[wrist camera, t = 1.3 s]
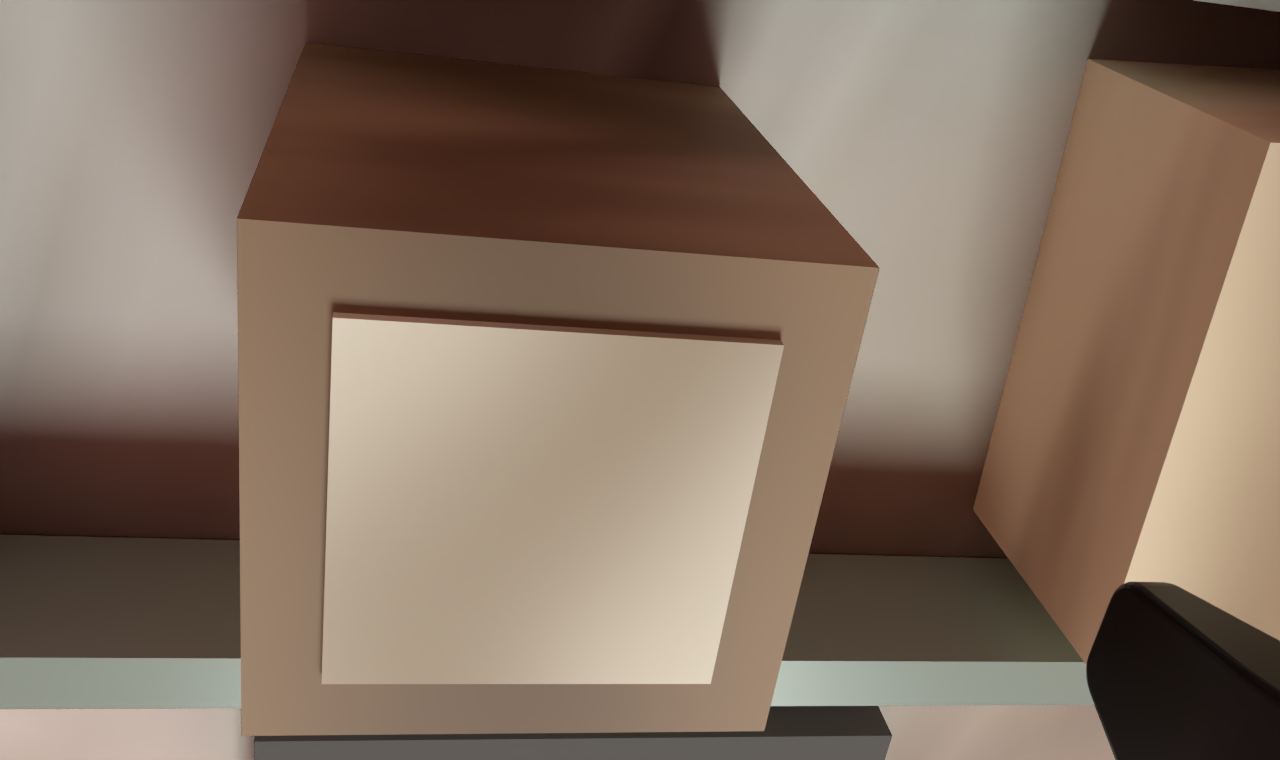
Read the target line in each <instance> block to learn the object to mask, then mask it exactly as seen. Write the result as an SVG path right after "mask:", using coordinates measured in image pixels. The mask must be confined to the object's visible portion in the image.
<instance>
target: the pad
mask: <svg viewBox="0 0 1280 760" xmlns="http://www.w3.org/2000/svg"><path fill="white" fill-rule="evenodd" d="M891 737H892V734H891V732H890V730H889V728H888V726H887V724H886V722H885V720H884V718H883V716H882V713H881V711H880V709H879V707H878V706H770V710H769V714H768V718H767V722H766V726H765V730H764V731H729V732H619V733H509V734H398V735H288V736H255V740H254V760H885V757H886V754H887V750H888V747H889V744H890V741H891Z"/></svg>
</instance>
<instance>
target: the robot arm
mask: <svg viewBox="0 0 1280 760" xmlns="http://www.w3.org/2000/svg"><path fill="white" fill-rule="evenodd" d="M1086 678H1087V684H1088V688H1089V692H1090V694H1091V697H1092V700H1093V702H1094V705H1095V707H1096V710H1097V713H1098V715H1099V718H1100V720H1101V723H1102V726H1103V728H1104V731H1105V733H1106V736H1107V739H1108V741H1109V744H1110V746H1111V749H1112V752H1113V754H1114V757H1115V759H1116V760H1280V641H1279V640H1278V639H1276V638H1274V637H1272V636H1270V635H1268V634H1266V633H1265V632H1263V631H1261V630H1259V629H1257V628H1255V627H1253V626H1251V625H1250V624H1248V623H1246V622H1244V621H1242V620H1240V619H1238V618H1237V617H1235V616H1233V615H1231V614H1229V613H1227V612H1225V611H1224V610H1222V609H1220V608H1218V607H1216V606H1214V605H1212V604H1210V603H1209V602H1207V601H1205V600H1203V599H1201V598H1199V597H1197V596H1196V595H1194V594H1192V593H1190V592H1188V591H1186V590H1184V589H1182V588H1181V587H1179V586H1177V585H1174V584H1171V583H1166V582H1127V583H1124V584H1122V585H1121V586H1119V587H1118V588H1117V589H1116V591H1115V592H1114V593H1113V595H1112V597H1111V600H1110V602H1109V605H1108V607H1107V610H1106V612H1105V615H1104V617H1103V620H1102V623H1101V625H1100V628H1099V630H1098V633H1097V635H1096V638H1095V640H1094V643H1093V645H1092V648H1091V651H1090V653H1089V656H1088V659H1087V666H1086Z"/></svg>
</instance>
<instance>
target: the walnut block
mask: <svg viewBox="0 0 1280 760" xmlns="http://www.w3.org/2000/svg"><path fill="white" fill-rule="evenodd" d="M237 271H238V388H239V505H240V622H241V736H288V735H398V734H509V733H619V732H729V731H764V730H765V726H766V722H767V718H768V714H769V710H770V706H771V702H772V698H773V694H774V690H775V686H776V682H777V678H778V674H779V670H780V666H781V662H782V658H783V654H784V650H785V646H786V642H787V638H788V634H789V630H790V626H791V622H792V618H793V614H794V610H795V606H796V602H797V598H798V594H799V590H800V586H801V582H802V577H803V573H804V569H805V565H806V561H807V557H808V553H809V549H810V545H811V541H812V537H813V533H814V529H815V525H816V521H817V517H818V513H819V509H820V505H821V501H822V497H823V493H824V489H825V485H826V481H827V477H828V473H829V469H830V465H831V461H832V457H833V453H834V449H835V445H836V441H837V437H838V433H839V429H840V425H841V421H842V417H843V412H844V408H845V404H846V400H847V396H848V392H849V388H850V384H851V380H852V376H853V372H854V368H855V364H856V360H857V356H858V352H859V348H860V344H861V340H862V336H863V332H864V328H865V324H866V320H867V316H868V312H869V308H870V304H871V300H872V296H873V292H874V288H875V284H876V280H877V276H878V272H879V267H878V266H877V265H876V263H875V262H874V261H873V260H872V259H871V258H870V257H869V255H868V254H867V253H866V252H865V251H864V250H863V249H862V248H861V246H860V245H859V244H858V243H857V242H856V241H855V240H854V239H853V237H852V236H851V235H850V234H849V233H848V232H847V231H846V229H845V228H844V227H843V226H842V225H841V224H840V223H839V222H838V220H837V219H836V218H835V217H834V216H833V215H832V214H831V212H830V211H829V210H828V209H827V208H826V207H825V206H824V205H823V203H822V202H821V201H820V200H819V199H818V198H817V197H816V195H815V194H814V193H813V192H812V191H811V190H810V189H809V188H808V186H807V185H806V184H805V183H804V182H803V181H802V180H801V179H800V177H799V176H798V175H797V174H796V173H795V172H794V171H793V169H792V168H791V167H790V166H789V165H788V164H787V163H786V162H785V160H784V159H783V158H782V157H781V156H780V155H779V154H778V152H777V151H776V150H775V149H774V148H773V147H772V146H771V145H770V143H769V142H768V141H767V140H766V139H765V138H764V137H763V136H762V134H761V133H760V132H759V131H758V130H757V129H756V128H755V126H754V125H753V124H752V123H751V122H750V121H749V120H748V119H747V117H746V116H745V115H744V114H743V113H742V112H741V111H740V109H739V108H738V107H737V106H736V105H735V104H734V103H733V102H732V100H731V99H730V98H729V97H728V96H727V95H726V94H725V92H724V91H723V90H722V89H721V88H720V87H715V86H706V85H697V84H687V83H678V82H669V81H659V80H650V79H641V78H632V77H622V76H613V75H604V74H595V73H585V72H576V71H567V70H557V69H548V68H539V67H530V66H520V65H511V64H502V63H492V62H483V61H474V60H465V59H455V58H446V57H437V56H428V55H418V54H409V53H400V52H390V51H381V50H372V49H363V48H353V47H344V46H335V45H326V44H316V43H307V42H306V43H305V46H304V48H303V51H302V54H301V56H300V59H299V61H298V64H297V66H296V69H295V71H294V74H293V77H292V79H291V82H290V84H289V87H288V89H287V92H286V94H285V97H284V100H283V102H282V105H281V107H280V110H279V112H278V115H277V118H276V120H275V123H274V125H273V128H272V130H271V133H270V135H269V138H268V141H267V143H266V146H265V148H264V151H263V153H262V156H261V158H260V161H259V164H258V166H257V169H256V171H255V174H254V176H253V179H252V182H251V184H250V187H249V189H248V192H247V194H246V197H245V199H244V202H243V205H242V207H241V210H240V212H239V215H238V217H237Z"/></svg>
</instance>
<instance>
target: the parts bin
mask: <svg viewBox="0 0 1280 760" xmlns="http://www.w3.org/2000/svg"><path fill="white" fill-rule="evenodd" d="M1195 1H1202V2H1210V3H1217V4H1225V5H1232V6H1240V7H1247V8H1255V9H1262V10H1270V11H1277V12H1280V0H1195ZM1086 666H1087V665H1086V664H1085V662H1084V661H1083V660H1082V658H1081V657H1080V656H1079V654H1078V653H1077V651H1076V650H1075V649H1074V647H1073V646H1072V645H1071V643H1070V642H1069V641H1068V639H1067V638H1066V636H1065V635H1064V634H1063V632H1062V631H1061V630H1060V628H1059V627H1058V625H1057V624H1056V623H1055V621H1054V620H1053V619H1052V617H1051V616H1050V615H1049V613H1048V612H1047V610H1046V609H1045V608H1044V606H1043V605H1042V604H1041V602H1040V601H1039V600H1038V598H1037V597H1036V595H1035V594H1034V593H1033V591H1032V590H1031V589H1030V587H1029V586H1028V584H1027V583H1026V582H1025V580H1024V579H1023V578H1022V576H1021V575H1020V574H1019V572H1018V571H1017V569H1016V568H1015V567H1014V565H1013V564H1012V563H1011V561H1010V560H1009V559H1008V558H966V557H924V556H882V555H840V554H808V557H807V561H806V565H805V569H804V573H803V577H802V582H801V586H800V590H799V594H798V598H797V602H796V606H795V610H794V614H793V618H792V622H791V626H790V630H789V634H788V638H787V642H786V646H785V650H784V654H783V658H782V662H781V666H780V670H779V674H778V678H777V682H776V686H775V690H774V694H773V698H772V702H771V706H954V705H1094V702H1093V700H1092V697H1091V694H1090V692H1089V688H1088V684H1087V678H1086ZM182 708H241V622H240V540H207V539H165V538H123V537H81V536H39V535H0V709H182Z"/></svg>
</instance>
